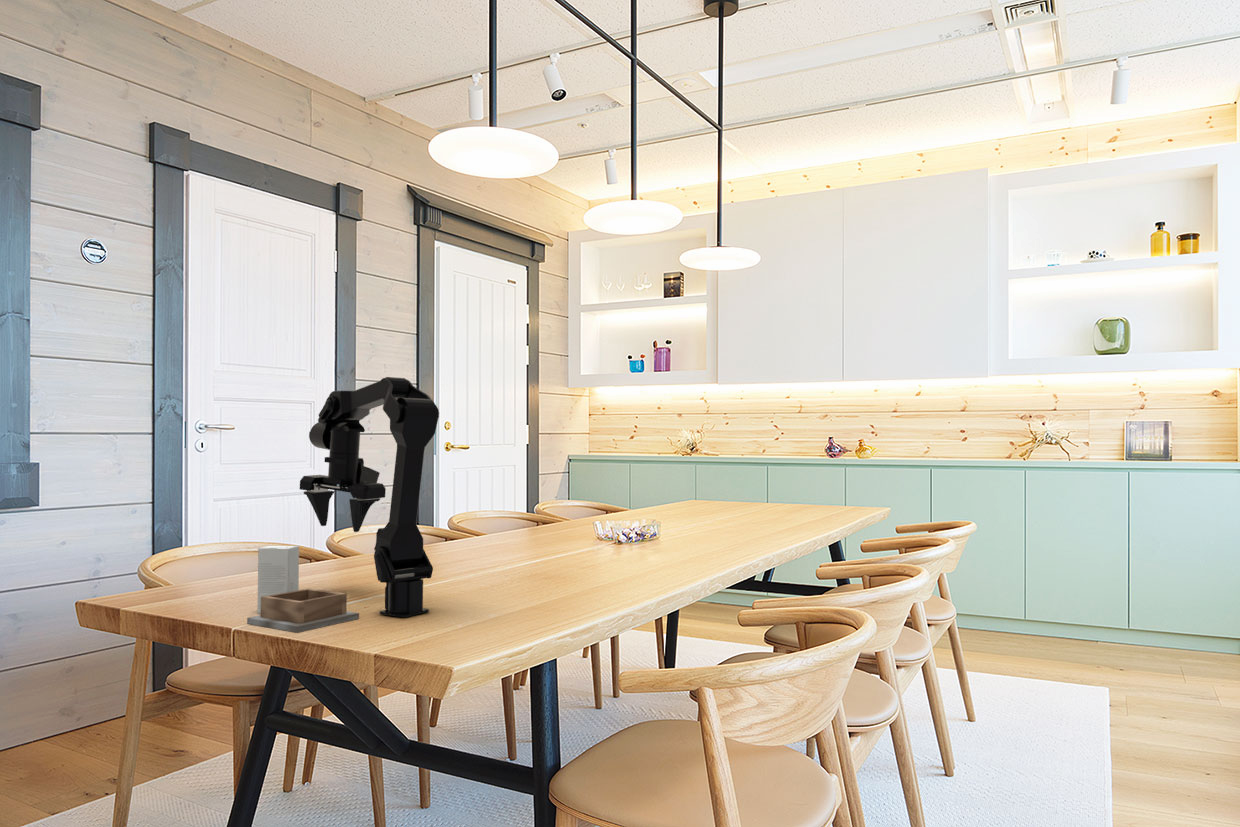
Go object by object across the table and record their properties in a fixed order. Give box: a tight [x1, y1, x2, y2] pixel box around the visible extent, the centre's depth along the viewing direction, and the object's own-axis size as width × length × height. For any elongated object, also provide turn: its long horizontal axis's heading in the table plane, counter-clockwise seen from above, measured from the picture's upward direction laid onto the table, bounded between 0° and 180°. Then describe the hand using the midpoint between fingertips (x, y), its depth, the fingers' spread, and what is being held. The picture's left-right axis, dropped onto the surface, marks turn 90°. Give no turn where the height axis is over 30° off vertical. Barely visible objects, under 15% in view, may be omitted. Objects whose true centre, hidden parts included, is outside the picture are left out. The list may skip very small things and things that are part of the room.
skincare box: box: [256, 545, 300, 614], centre depth 154 cm, size 6×4×12 cm
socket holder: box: [246, 588, 360, 633], centre depth 145 cm, size 13×13×4 cm
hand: (339, 528), depth 170 cm, fingers open, 9 cm apart
